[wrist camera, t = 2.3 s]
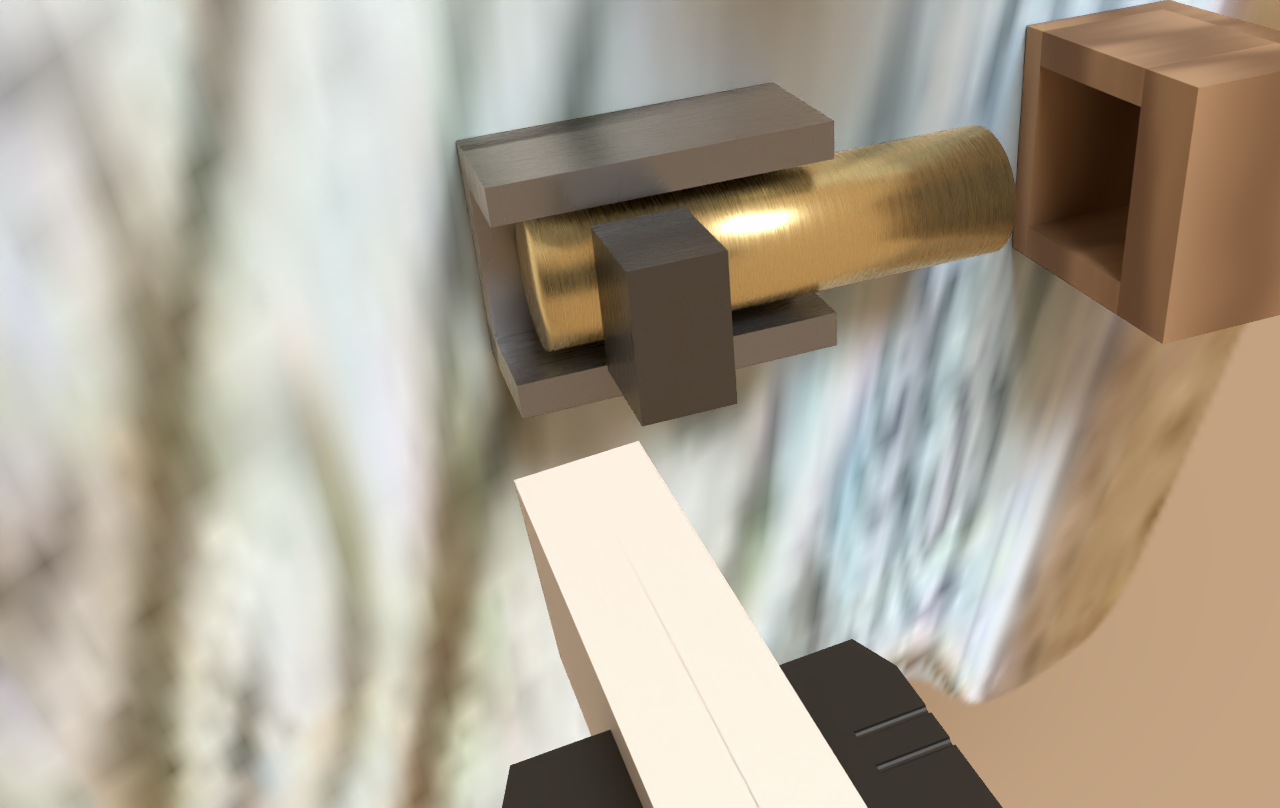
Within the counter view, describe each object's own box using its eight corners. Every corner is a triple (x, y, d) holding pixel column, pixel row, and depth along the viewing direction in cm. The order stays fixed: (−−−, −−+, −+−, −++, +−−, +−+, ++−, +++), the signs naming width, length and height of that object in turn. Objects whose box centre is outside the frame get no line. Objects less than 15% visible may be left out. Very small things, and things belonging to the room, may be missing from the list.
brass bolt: (528, 324, 34) (590, 438, 29) (507, 189, 32) (568, 284, 27) (946, 233, 37) (1075, 321, 31) (951, 103, 35) (1090, 173, 29)
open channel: (492, 354, 35) (522, 418, 32) (456, 141, 32) (484, 188, 29) (780, 290, 37) (836, 345, 34) (772, 82, 34) (833, 120, 31)
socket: (1012, 247, 39) (1162, 344, 33) (1027, 25, 36) (1198, 87, 29) (1141, 218, 40) (1311, 306, 34) (1168, -1, 37) (1363, 54, 30)
